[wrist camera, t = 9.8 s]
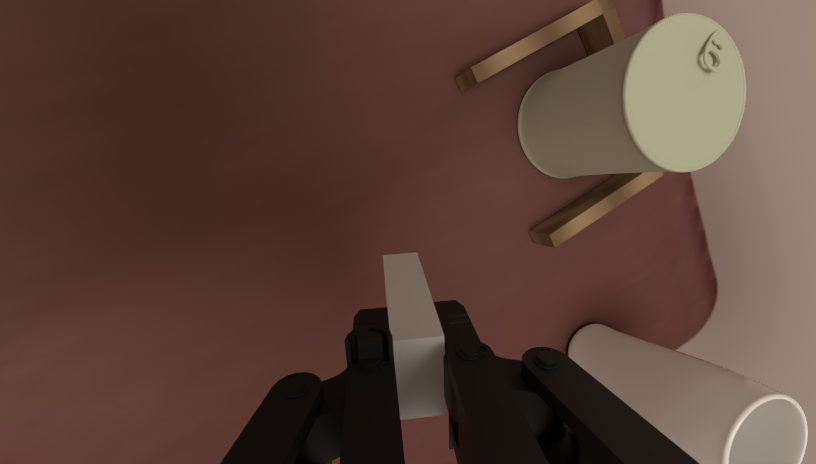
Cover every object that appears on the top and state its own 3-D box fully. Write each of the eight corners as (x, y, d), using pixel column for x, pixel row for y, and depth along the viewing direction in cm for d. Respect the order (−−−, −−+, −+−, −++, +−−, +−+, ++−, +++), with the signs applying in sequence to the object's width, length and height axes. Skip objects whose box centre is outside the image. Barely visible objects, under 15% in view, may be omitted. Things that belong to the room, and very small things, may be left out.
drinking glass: (544, 360, 36) (705, 474, 22) (585, 300, 37) (769, 372, 22) (591, 395, 38) (768, 521, 24) (630, 337, 38) (826, 426, 24)
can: (624, 106, 36) (779, 66, 24) (579, 196, 35) (713, 200, 24) (547, 48, 33) (678, -28, 21) (498, 145, 33) (604, 121, 21)
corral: (534, 242, 35) (555, 247, 32) (455, 78, 31) (470, 67, 28) (645, 169, 37) (674, 167, 34) (582, 9, 33) (608, -8, 31)
